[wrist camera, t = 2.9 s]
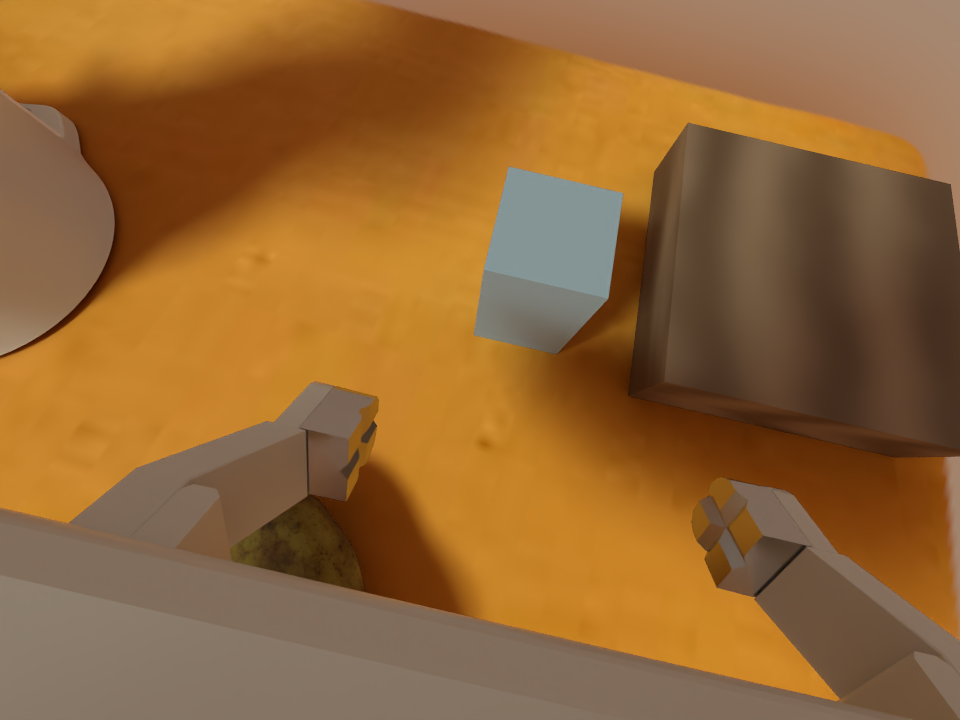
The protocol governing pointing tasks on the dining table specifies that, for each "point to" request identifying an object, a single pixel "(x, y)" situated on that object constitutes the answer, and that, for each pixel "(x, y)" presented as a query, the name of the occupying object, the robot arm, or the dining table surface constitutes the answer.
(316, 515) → the potato
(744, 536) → the robot arm
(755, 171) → the plinth
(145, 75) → the dining table surface
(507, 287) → the block
